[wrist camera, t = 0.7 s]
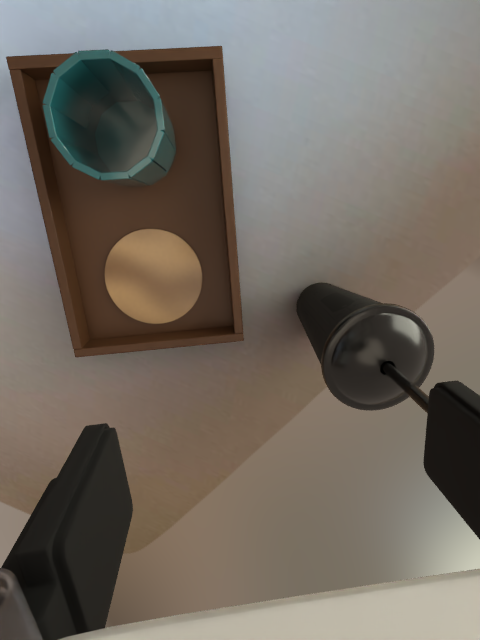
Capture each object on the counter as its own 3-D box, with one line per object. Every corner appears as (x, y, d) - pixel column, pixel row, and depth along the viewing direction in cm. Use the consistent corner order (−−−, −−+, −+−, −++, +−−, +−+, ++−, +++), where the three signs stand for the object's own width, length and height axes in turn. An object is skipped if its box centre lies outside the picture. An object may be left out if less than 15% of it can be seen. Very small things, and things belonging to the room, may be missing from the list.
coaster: (96, 232, 33) (95, 232, 32) (197, 224, 33) (197, 224, 33) (114, 327, 35) (113, 328, 35) (206, 318, 36) (207, 319, 36)
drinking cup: (271, 329, 37) (337, 457, 18) (299, 258, 35) (405, 320, 16) (337, 349, 39) (463, 488, 20) (367, 282, 37) (539, 366, 18)
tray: (26, 71, 29) (5, 56, 26) (220, 61, 30) (222, 45, 27) (85, 345, 36) (74, 357, 33) (240, 330, 37) (243, 341, 34)
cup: (85, 99, 29) (30, 52, 20) (170, 94, 30) (154, 46, 21) (101, 189, 32) (58, 183, 23) (180, 184, 32) (170, 175, 23)
